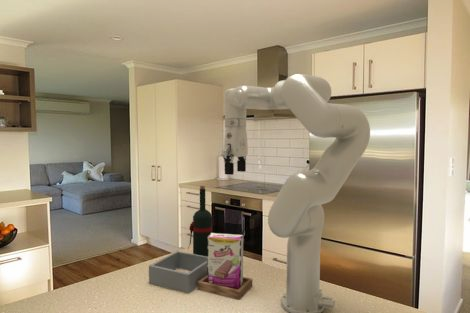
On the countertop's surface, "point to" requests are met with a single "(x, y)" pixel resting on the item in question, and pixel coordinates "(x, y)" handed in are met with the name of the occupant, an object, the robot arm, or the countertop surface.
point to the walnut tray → (225, 288)
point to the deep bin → (177, 280)
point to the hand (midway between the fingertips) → (235, 172)
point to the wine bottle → (201, 227)
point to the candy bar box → (225, 260)
